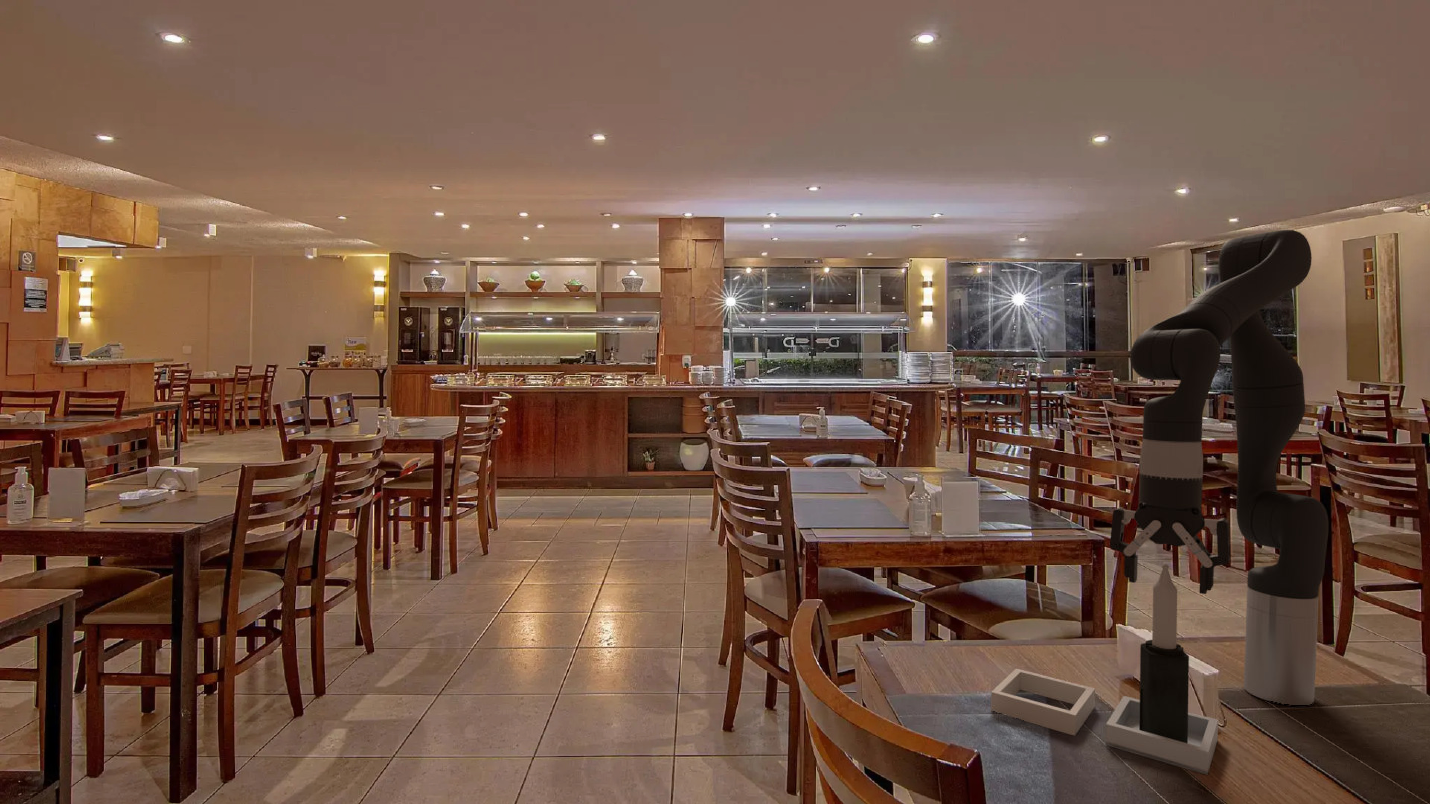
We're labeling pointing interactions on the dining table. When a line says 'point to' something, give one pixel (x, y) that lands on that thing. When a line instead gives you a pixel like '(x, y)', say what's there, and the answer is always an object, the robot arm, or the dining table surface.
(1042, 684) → the grey frame
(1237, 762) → the dining table surface
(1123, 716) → the grey tray
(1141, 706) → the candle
